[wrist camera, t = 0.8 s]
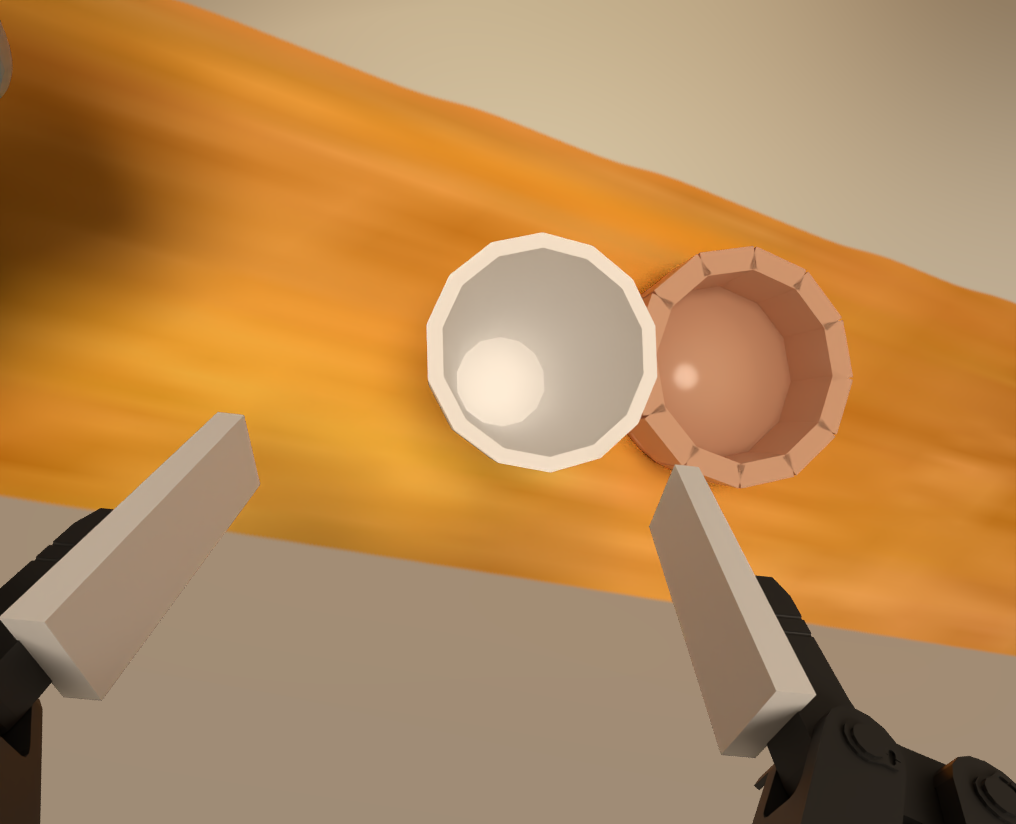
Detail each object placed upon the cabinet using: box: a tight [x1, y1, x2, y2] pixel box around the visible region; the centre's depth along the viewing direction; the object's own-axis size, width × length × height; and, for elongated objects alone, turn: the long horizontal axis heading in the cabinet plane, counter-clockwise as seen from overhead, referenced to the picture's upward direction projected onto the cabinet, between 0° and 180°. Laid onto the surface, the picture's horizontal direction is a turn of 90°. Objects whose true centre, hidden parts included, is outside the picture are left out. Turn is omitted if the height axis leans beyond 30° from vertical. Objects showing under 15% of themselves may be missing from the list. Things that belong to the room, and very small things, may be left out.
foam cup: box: [427, 232, 657, 472], centre depth 24 cm, size 10×9×13 cm
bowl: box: [627, 246, 853, 488], centre depth 31 cm, size 15×15×4 cm
